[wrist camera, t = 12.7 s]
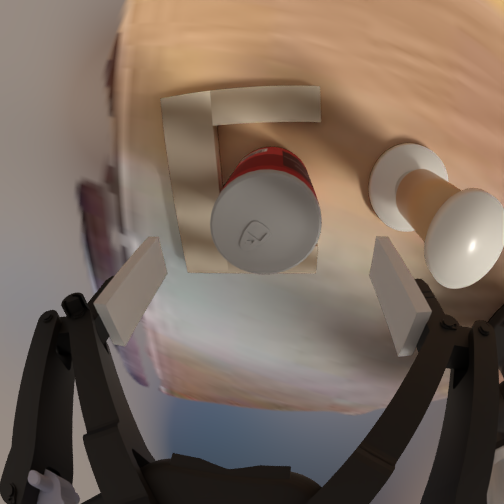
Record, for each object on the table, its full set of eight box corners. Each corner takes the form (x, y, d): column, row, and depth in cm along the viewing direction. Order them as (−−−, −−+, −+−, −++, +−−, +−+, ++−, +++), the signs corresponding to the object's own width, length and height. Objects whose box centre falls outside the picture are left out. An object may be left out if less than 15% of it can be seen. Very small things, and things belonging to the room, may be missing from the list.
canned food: (223, 201, 30) (195, 253, 20) (250, 133, 26) (232, 152, 16) (288, 227, 31) (290, 290, 21) (320, 163, 27) (342, 200, 17)
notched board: (314, 264, 33) (315, 273, 31) (191, 264, 34) (187, 272, 33) (317, 87, 23) (320, 86, 21) (167, 98, 24) (160, 98, 23)
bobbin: (436, 228, 29) (491, 294, 17) (364, 226, 30) (403, 302, 19) (449, 149, 24) (525, 187, 12) (371, 138, 25) (432, 170, 14)
